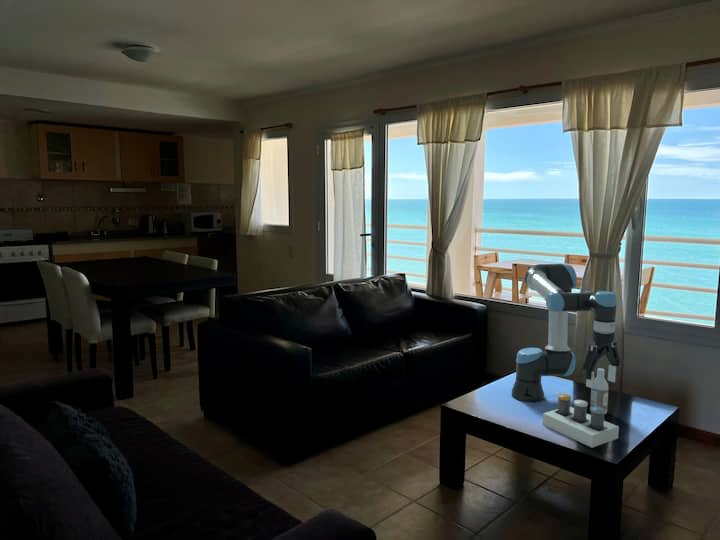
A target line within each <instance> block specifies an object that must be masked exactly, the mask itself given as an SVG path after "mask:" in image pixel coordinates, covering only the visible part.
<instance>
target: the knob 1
mask: <svg viewBox="0 0 720 540" xmlns="http://www.w3.org/2000/svg"><path fill="white" fill-rule="evenodd" d="M557 400H558V401H557V409H558V414H559V415H562V416H569V415H570V407H571V401H572V395H570V394H567V393H559V394H557Z"/></svg>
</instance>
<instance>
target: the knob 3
mask: <svg viewBox="0 0 720 540" xmlns="http://www.w3.org/2000/svg"><path fill="white" fill-rule="evenodd" d="M590 415H591V424H590V428H592V429H594V430H596V431H602V430H604V421H605V415H606V414H605V409H604V408H601V407H591V411H590Z"/></svg>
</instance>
